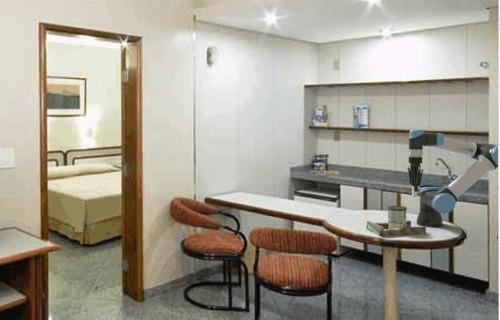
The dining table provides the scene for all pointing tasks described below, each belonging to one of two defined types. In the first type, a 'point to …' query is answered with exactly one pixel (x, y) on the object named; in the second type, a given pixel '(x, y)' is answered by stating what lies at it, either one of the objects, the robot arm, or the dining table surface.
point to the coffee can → (396, 217)
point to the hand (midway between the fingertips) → (414, 196)
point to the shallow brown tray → (394, 229)
